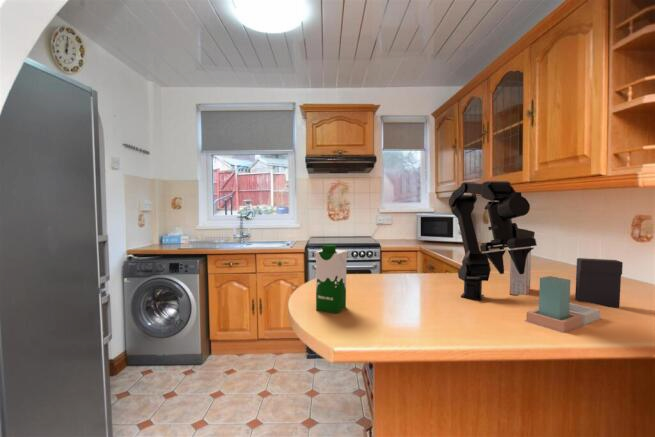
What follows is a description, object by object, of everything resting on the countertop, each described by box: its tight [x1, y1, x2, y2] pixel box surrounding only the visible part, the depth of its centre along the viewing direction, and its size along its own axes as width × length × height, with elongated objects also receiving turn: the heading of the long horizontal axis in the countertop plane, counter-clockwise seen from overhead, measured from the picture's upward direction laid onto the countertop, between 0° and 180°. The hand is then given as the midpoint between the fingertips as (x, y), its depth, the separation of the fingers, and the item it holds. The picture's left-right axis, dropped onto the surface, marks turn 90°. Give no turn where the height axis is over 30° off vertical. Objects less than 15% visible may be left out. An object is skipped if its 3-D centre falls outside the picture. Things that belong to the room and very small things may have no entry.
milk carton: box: [314, 244, 348, 314], centre depth 100 cm, size 9×9×20 cm
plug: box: [538, 275, 572, 320], centre depth 86 cm, size 5×5×12 cm
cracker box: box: [509, 248, 532, 297], centre depth 121 cm, size 14×6×21 cm, turn 144°
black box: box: [574, 257, 624, 309], centre depth 106 cm, size 11×4×15 cm, turn 71°
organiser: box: [524, 302, 602, 334], centre depth 89 cm, size 10×21×4 cm, turn 120°
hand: (511, 274), depth 95 cm, fingers open, 9 cm apart
